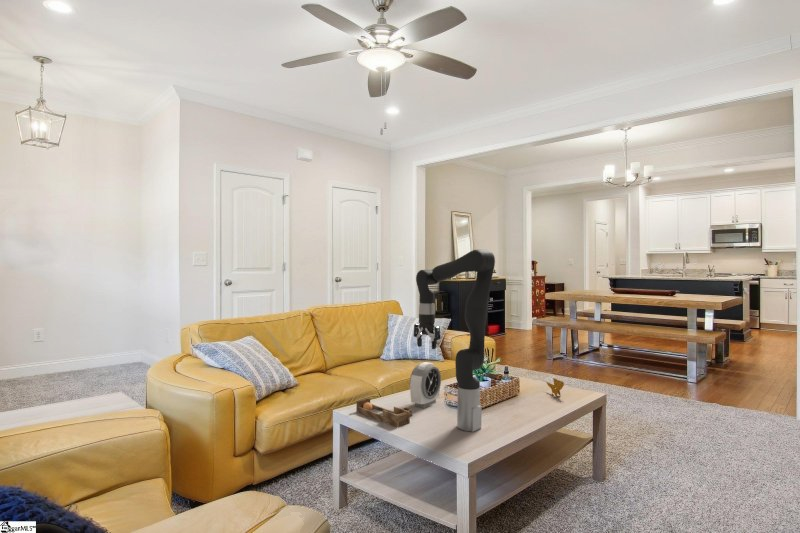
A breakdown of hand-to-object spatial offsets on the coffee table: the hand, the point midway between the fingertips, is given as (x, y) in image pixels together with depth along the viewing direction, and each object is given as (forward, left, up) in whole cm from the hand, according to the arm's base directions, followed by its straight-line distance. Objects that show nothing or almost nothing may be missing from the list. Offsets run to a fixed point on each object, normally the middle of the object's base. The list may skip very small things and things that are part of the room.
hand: (426, 347), depth 207 cm
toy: (-29, -70, -30) cm, 81 cm away
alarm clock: (+8, -9, -30) cm, 32 cm away
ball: (+19, +20, -28) cm, 39 cm away
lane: (+9, +19, -30) cm, 37 cm away
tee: (+3, +10, -30) cm, 32 cm away
